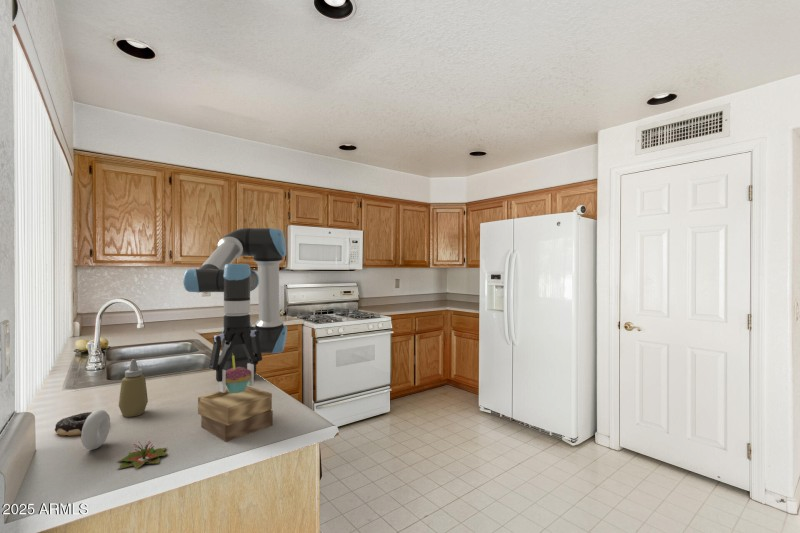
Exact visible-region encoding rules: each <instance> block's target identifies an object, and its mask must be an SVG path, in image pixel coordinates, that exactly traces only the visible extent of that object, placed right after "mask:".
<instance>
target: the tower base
mask: <svg viewBox="0 0 800 533" xmlns="http://www.w3.org/2000/svg"><path fill="white" fill-rule="evenodd" d="M273 414H274V411H273V409H271V410H268V411H266V412H263V413H260V414H258V415H255V416H252V417H250V418H247V419H244V420H242V421H239V422H236V423H234V424H231V425H225V424H223V423H220V422H218V421H215V420H212V419H210V418H207V417H205V416H202V415H200V416H201V418H200V426H201V428H202V429H203V430H205V431H207V432H208V433H210V434H212V435H214V436H215V437H217V438H218V439H220V440H221V441H223V442H225V443H226V442H228V441H231V440H234V439H237V438H240V437H244V436H245V435H246V436H247V435H248V434H251V433H254V432H256V431H257V432H258V431H259V430H263V429H266V428H268V427H272V426H273V425H274V424H273V423H274V422H273V421H274V418H273Z"/></svg>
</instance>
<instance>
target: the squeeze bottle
mask: <svg viewBox="0 0 800 533" xmlns="http://www.w3.org/2000/svg"><path fill="white" fill-rule="evenodd" d="M146 380H147V379H146V376H145V375H144V374H143V370H142V368H139V367H138V363H137V359H136V358H133V359H131V361H130V364H129V368H128V369H126V370H125V371H124V377H123V378H122V379H121V383H120V389H119V390H120V392H119V401H118V408H119V410H120V413H121V415H122V416H123V417H127V418H129V417H131V418H132V417H136V416H140V415H142V414H144V413H145V410H146V408H147V405H148V403H149V399H148V390H147V382H146Z"/></svg>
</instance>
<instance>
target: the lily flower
mask: <svg viewBox="0 0 800 533" xmlns="http://www.w3.org/2000/svg"><path fill="white" fill-rule="evenodd" d="M138 443H139V444H141V443H140V441H138ZM151 443H152V442H151V440H149V441H147V444H146V441H145V443H144V444H145V445H144V447H143V445H140V446H139V445H137V444H135V443H133V446H134V448H138V449H139V450H138V449H134V450H135V451H131V452H128V454H127V455H126V456H125V457H123V458H121V459H120V460H118V461H117V462H118V463H119V462H123V463H122V464H120V466H119V468H117V470H120V469H123V468H128V467H135V469H136V470H138V469H139V468H141V466H143V465H144V464H145V465H146V464H148V465H149V464H160V460H161V459H160V457H161V456H169V455H170V453H167V452H165V450H167V449H168V447H160V448H156V449H155V447H154V445H153V444H151ZM149 445H150V446H149ZM146 458H147V459H146ZM140 459H143V460H140ZM149 460H150V461H149Z"/></svg>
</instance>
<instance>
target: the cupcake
mask: <svg viewBox="0 0 800 533" xmlns="http://www.w3.org/2000/svg"><path fill="white" fill-rule="evenodd" d="M232 355H233V353H232ZM232 362H233V368H231V369H228V370H227V371H226V389H228V392H229V393H240V392H243V391H245V389H246V386H248V384H247V383H248V381H249V379H251V376H252V375H251V371H250V370H248V369H246V368H244V367H235V358H234V355H233V356H232Z"/></svg>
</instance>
